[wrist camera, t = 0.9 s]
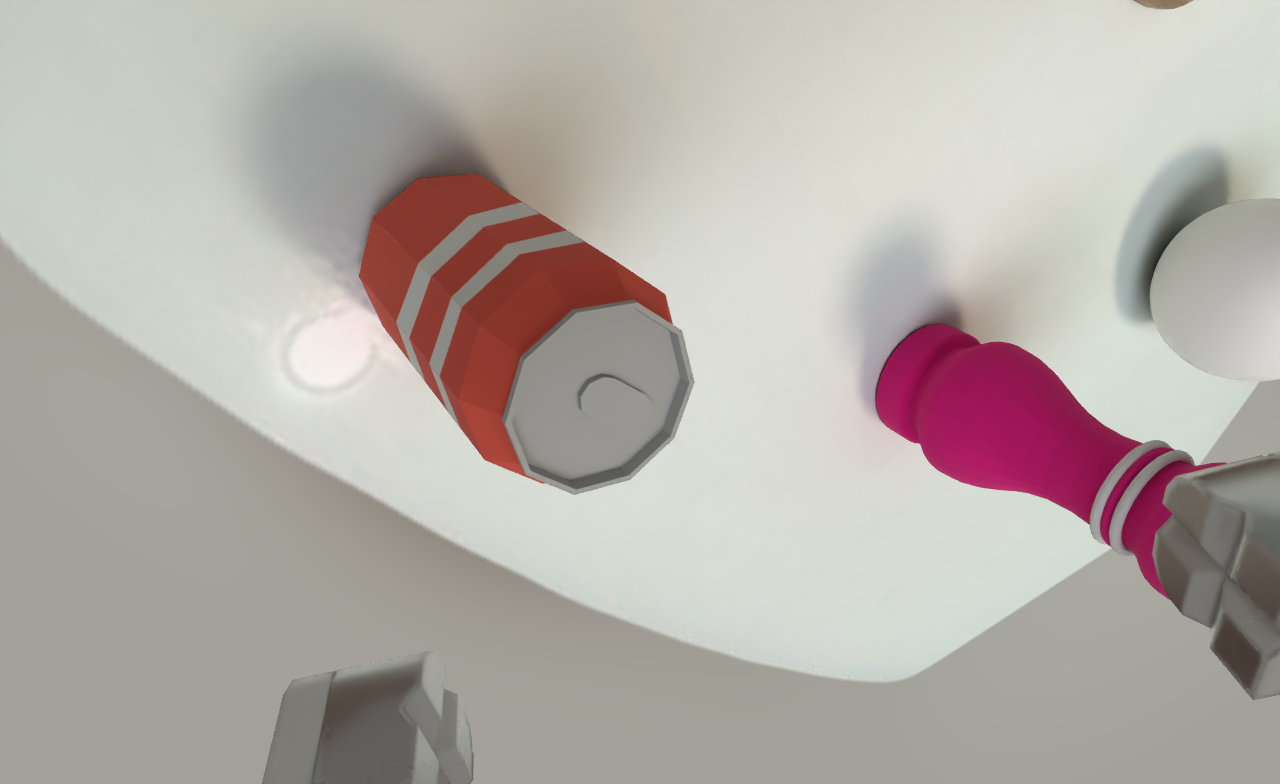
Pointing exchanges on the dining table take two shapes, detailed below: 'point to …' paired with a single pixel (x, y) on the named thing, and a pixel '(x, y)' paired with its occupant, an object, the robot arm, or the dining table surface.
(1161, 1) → the candle holder
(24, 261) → the dining table surface
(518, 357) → the beverage can
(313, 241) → the dining table surface
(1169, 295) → the ornament
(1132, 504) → the pepper mill
